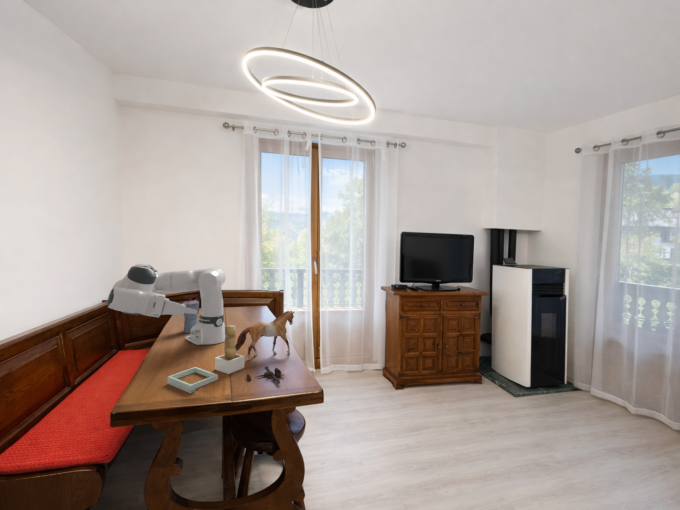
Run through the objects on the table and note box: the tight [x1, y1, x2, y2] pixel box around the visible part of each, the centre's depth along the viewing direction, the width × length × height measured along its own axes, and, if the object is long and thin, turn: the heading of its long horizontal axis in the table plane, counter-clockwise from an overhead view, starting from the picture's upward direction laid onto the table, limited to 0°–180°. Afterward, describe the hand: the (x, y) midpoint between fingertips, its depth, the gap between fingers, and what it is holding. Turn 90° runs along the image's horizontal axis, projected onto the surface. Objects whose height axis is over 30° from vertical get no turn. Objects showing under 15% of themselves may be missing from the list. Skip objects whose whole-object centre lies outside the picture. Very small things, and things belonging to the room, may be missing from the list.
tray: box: [167, 366, 219, 394], centre depth 130 cm, size 14×12×3 cm
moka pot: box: [181, 297, 201, 334], centre depth 199 cm, size 10×15×20 cm, turn 172°
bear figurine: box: [246, 365, 285, 385], centre depth 136 cm, size 18×4×14 cm
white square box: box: [214, 352, 245, 375], centre depth 142 cm, size 8×8×6 cm
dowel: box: [223, 324, 237, 361], centre depth 142 cm, size 4×4×18 cm
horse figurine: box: [235, 310, 295, 361], centre depth 160 cm, size 31×8×21 cm, turn 123°
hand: (195, 311), depth 135 cm, fingers open, 8 cm apart
